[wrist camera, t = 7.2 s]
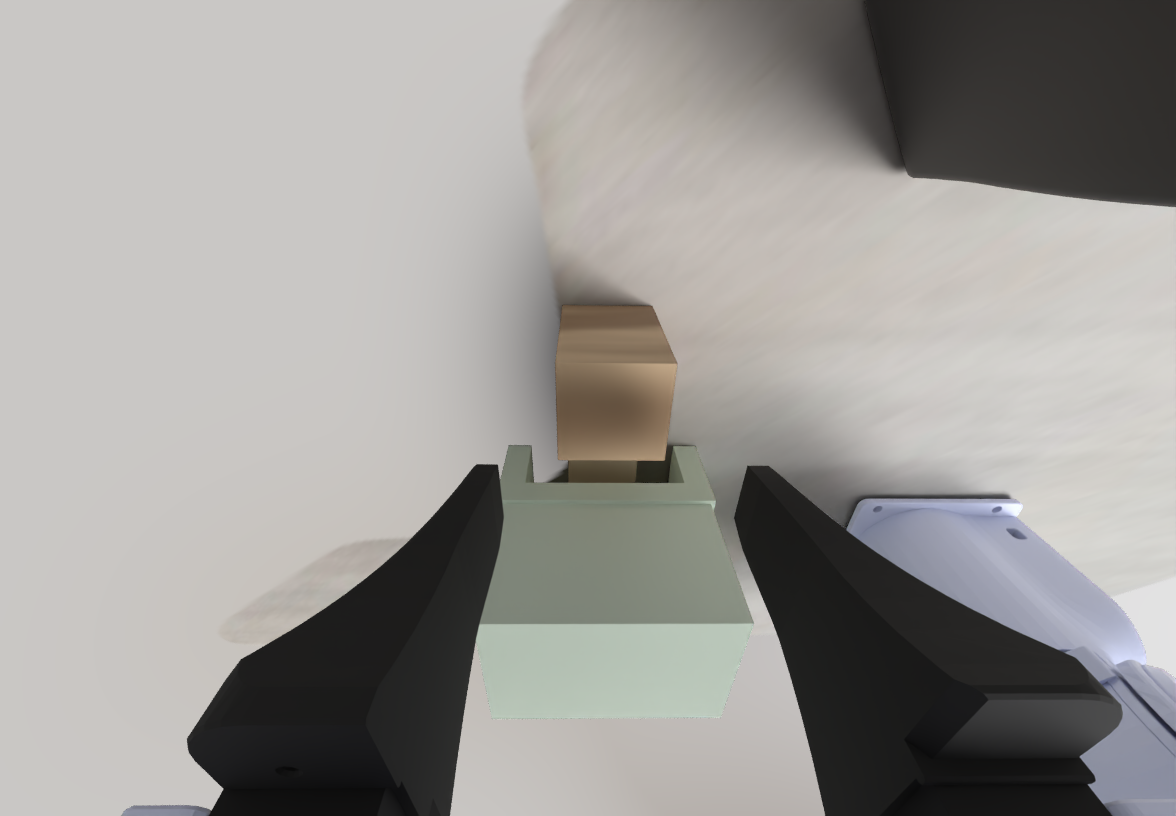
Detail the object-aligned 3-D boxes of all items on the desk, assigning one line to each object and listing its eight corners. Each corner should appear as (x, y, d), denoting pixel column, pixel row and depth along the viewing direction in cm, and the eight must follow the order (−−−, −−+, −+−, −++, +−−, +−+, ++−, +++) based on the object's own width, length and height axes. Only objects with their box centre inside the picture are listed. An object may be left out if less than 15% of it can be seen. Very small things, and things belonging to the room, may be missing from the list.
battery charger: (1011, 122, 16) (1695, 83, 6) (903, 186, 17) (1341, 241, 7) (980, -113, 13) (2242, -934, 3) (852, -16, 14) (1490, -403, 4)
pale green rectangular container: (508, 445, 23) (465, 620, 15) (695, 446, 23) (761, 620, 15) (518, 540, 27) (488, 724, 18) (679, 540, 27) (723, 722, 18)
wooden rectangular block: (562, 305, 19) (555, 362, 14) (652, 306, 19) (677, 363, 14) (566, 526, 26) (562, 618, 21) (631, 527, 26) (643, 618, 21)
